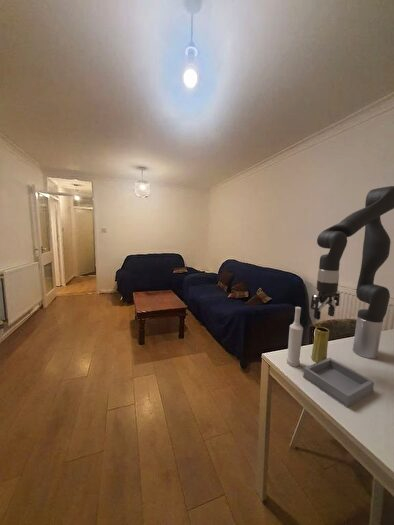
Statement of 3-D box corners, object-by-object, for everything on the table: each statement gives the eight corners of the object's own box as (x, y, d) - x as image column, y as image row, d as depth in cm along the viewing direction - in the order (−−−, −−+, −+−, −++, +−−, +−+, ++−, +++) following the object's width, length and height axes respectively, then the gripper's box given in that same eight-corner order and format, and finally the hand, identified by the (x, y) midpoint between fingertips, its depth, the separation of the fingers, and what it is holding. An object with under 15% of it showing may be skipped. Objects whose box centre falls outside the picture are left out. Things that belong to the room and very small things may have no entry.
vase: (329, 364, 93) (332, 333, 90) (313, 362, 94) (317, 331, 92) (323, 356, 99) (327, 327, 96) (309, 354, 100) (312, 325, 98)
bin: (328, 366, 91) (329, 357, 91) (372, 391, 77) (374, 381, 77) (303, 377, 84) (304, 367, 83) (346, 407, 70) (348, 396, 69)
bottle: (293, 368, 90) (298, 310, 86) (283, 361, 94) (288, 306, 91) (302, 365, 92) (308, 308, 88) (292, 358, 96) (297, 304, 93)
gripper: (330, 276, 95) (327, 311, 98) (307, 279, 90) (304, 316, 92) (348, 280, 89) (343, 318, 91) (324, 283, 83) (320, 323, 85)
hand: (323, 317), depth 92 cm, fingers open, 8 cm apart
